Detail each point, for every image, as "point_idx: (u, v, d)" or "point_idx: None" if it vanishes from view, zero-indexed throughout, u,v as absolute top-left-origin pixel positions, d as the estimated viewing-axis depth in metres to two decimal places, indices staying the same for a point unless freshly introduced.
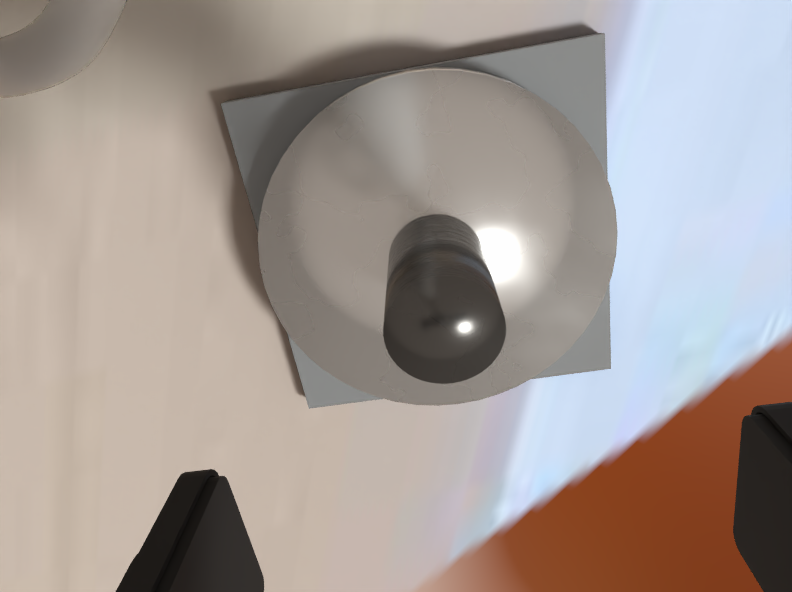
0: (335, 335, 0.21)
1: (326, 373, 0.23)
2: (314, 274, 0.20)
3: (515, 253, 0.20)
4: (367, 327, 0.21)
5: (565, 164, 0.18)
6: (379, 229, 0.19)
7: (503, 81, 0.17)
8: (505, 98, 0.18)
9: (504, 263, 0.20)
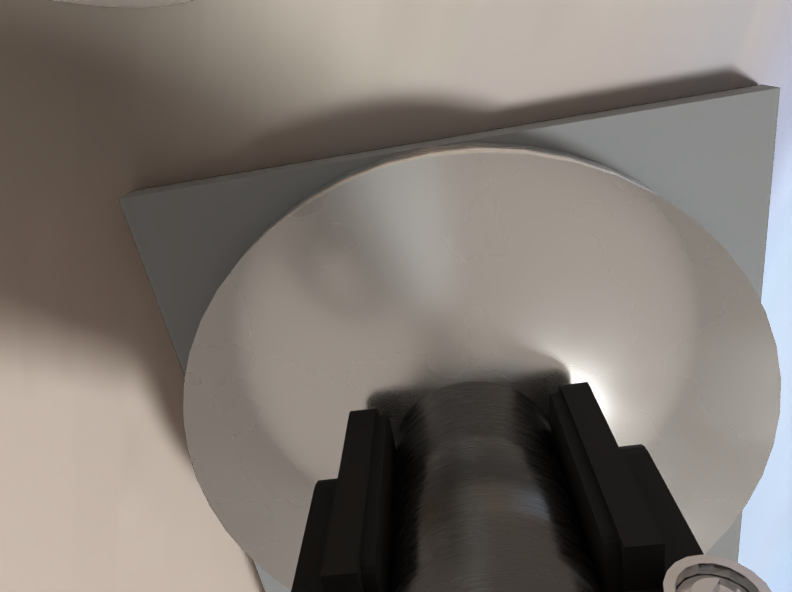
0: None
1: None
2: (276, 464, 0.12)
3: None
4: None
5: (701, 308, 0.11)
6: (381, 402, 0.12)
7: (603, 173, 0.10)
8: (605, 201, 0.10)
9: None
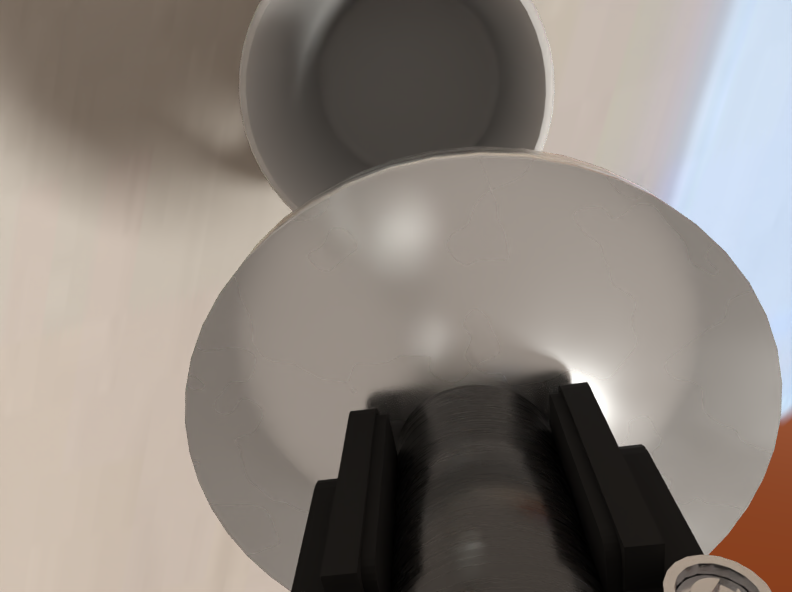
0: None
1: None
2: (278, 467, 0.13)
3: None
4: None
5: (702, 312, 0.11)
6: (383, 405, 0.12)
7: (605, 178, 0.10)
8: (607, 206, 0.10)
9: None
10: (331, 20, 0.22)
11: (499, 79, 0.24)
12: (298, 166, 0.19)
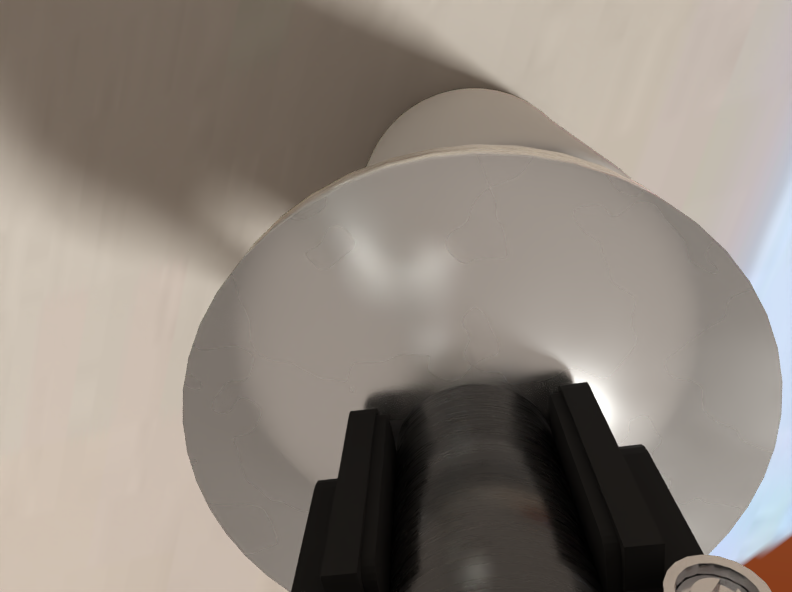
0: None
1: None
2: (276, 467, 0.12)
3: None
4: None
5: (702, 310, 0.11)
6: (381, 404, 0.12)
7: (604, 176, 0.10)
8: (606, 204, 0.10)
9: None
10: None
11: None
12: None
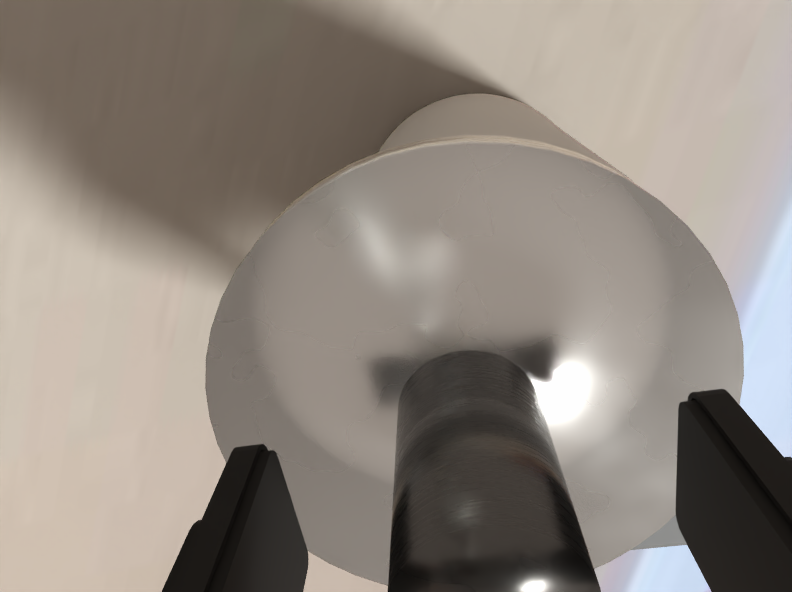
0: (322, 507, 0.15)
1: None
2: (289, 429, 0.14)
3: (587, 404, 0.13)
4: (367, 497, 0.15)
5: (669, 281, 0.12)
6: (384, 370, 0.13)
7: (578, 160, 0.11)
8: (580, 186, 0.11)
9: (570, 417, 0.13)
10: None
11: None
12: None
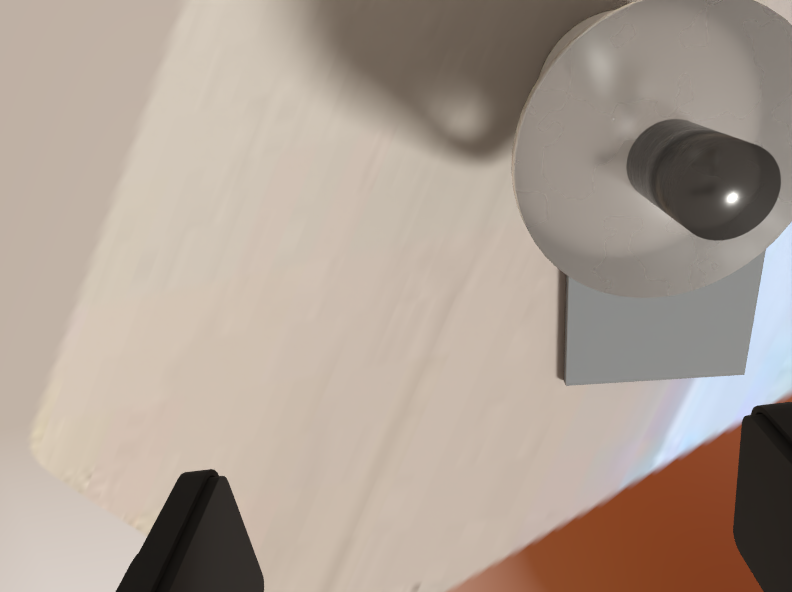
0: (564, 225, 0.25)
1: (582, 365, 0.40)
2: (560, 167, 0.24)
3: None
4: (593, 219, 0.24)
5: None
6: (626, 129, 0.23)
7: (760, 4, 0.21)
8: (758, 19, 0.21)
9: None
10: None
11: None
12: None
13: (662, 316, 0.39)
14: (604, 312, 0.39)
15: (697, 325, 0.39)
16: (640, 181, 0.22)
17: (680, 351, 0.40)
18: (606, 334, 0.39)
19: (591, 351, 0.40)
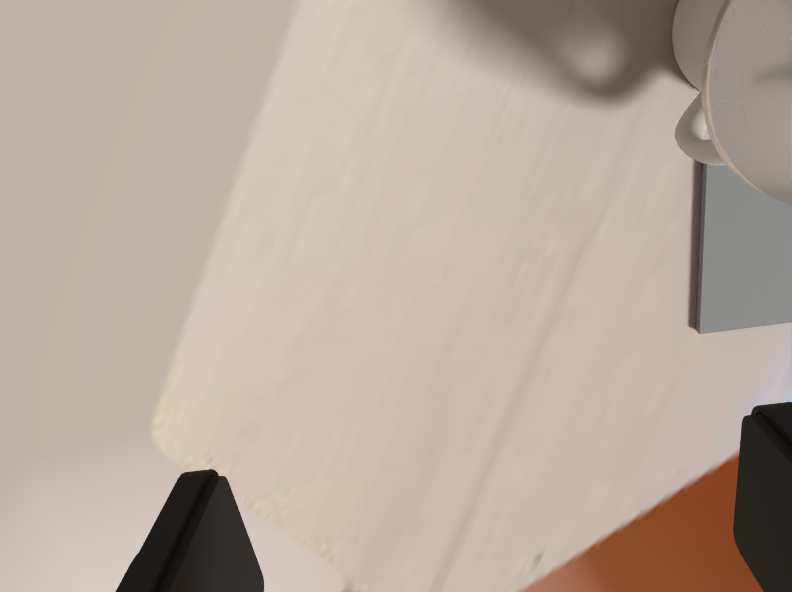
0: (762, 136, 0.24)
1: (717, 311, 0.39)
2: (762, 73, 0.23)
3: None
4: None
5: None
6: None
7: None
8: None
9: None
10: None
11: None
12: None
13: None
14: (741, 253, 0.38)
15: None
16: None
17: None
18: (743, 276, 0.38)
19: (727, 295, 0.39)
